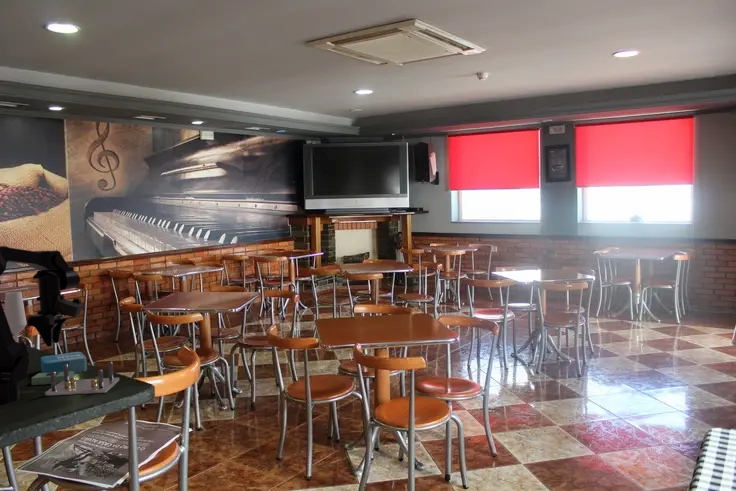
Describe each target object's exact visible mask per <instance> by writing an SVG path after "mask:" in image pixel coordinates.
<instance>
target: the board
mask: <svg viewBox="0 0 736 491" xmlns="http://www.w3.org/2000/svg"><path fill="white" fill-rule="evenodd" d="M68 374H69V380H70V378H73V377H74V378H75V373H74V371H68ZM63 380H64V372H56V384H58V383H60V382H61V381H63ZM38 385H51V372H50V373H42V372H39V373H37V374H35V375H34V376H32V377H31V386H38Z"/></svg>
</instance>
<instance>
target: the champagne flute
mask: <svg viewBox="0 0 736 491" xmlns="http://www.w3.org/2000/svg"><path fill="white" fill-rule="evenodd" d="M22 294H23V293H22V291H9V292H5V295H4V312H5V315H6V318H7V321H8V324H9V327H10V330H11V333H12V335H13V338H14V340H15V341H16V342H19V334H21V333H22V331H23V330H24V329H25V327H27V318H26V312H25V311H26V310H25V306H24V300H23V299H24V298H23V295H22Z"/></svg>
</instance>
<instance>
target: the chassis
mask: <svg viewBox="0 0 736 491" xmlns="http://www.w3.org/2000/svg"><path fill="white" fill-rule="evenodd" d="M113 364H114V362H113V361H109V362H107V366H108V368H107V369H108V377H106V378H105V377H104V370H103V369H97V375H98V376H95V378H87V379H85V378H83V379H77V378H76V377H74V378H70V380H69V374H68V364H64V365H63V367H64V380H63V381H61V382H60V383H56V372H51V384H50V385H51V388H49V389H48V390H46V391H44V394H45V395H44V396H45V397H47V396H48V397H50V396H66V395H67V396H68V395H84V394H85V395H86V394H102V393H104V394H105V393H107V392H108V391H110V389H112V388H113V387H114V386H115V385H116V384H117V383H118V382H119V381H120V377H114V365H113Z"/></svg>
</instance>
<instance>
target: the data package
mask: <svg viewBox="0 0 736 491" xmlns="http://www.w3.org/2000/svg"><path fill="white" fill-rule="evenodd" d="M39 361H40V373H50V372H64V367H63V365H64V364H68V371H74V372H79V373H83V372H82V371H84V372H86V371H87V370H88V366H87V365H88V364H87V357H86V355H85V354H83V352H81V351H74V352H67V353H61V354H60V353H59V354H52V355H45V356H41V357H40V360H39Z"/></svg>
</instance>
